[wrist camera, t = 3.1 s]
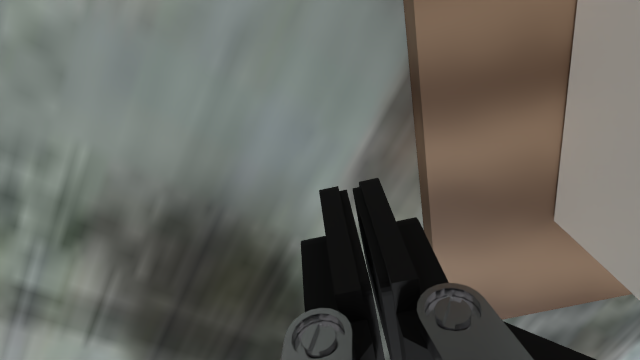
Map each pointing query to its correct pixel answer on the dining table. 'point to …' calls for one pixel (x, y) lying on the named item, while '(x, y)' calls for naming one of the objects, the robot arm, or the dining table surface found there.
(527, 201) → the board
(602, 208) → the tile
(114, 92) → the dining table surface
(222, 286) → the dining table surface
